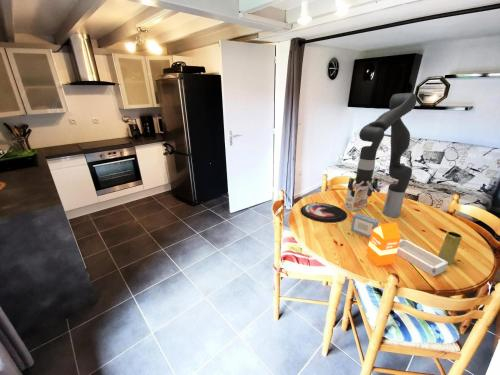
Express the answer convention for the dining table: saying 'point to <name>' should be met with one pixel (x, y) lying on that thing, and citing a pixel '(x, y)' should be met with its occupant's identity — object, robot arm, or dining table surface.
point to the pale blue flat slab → (363, 225)
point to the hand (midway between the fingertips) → (360, 196)
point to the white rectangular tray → (421, 258)
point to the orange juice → (384, 244)
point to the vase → (450, 247)
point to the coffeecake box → (356, 198)
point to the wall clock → (324, 212)
